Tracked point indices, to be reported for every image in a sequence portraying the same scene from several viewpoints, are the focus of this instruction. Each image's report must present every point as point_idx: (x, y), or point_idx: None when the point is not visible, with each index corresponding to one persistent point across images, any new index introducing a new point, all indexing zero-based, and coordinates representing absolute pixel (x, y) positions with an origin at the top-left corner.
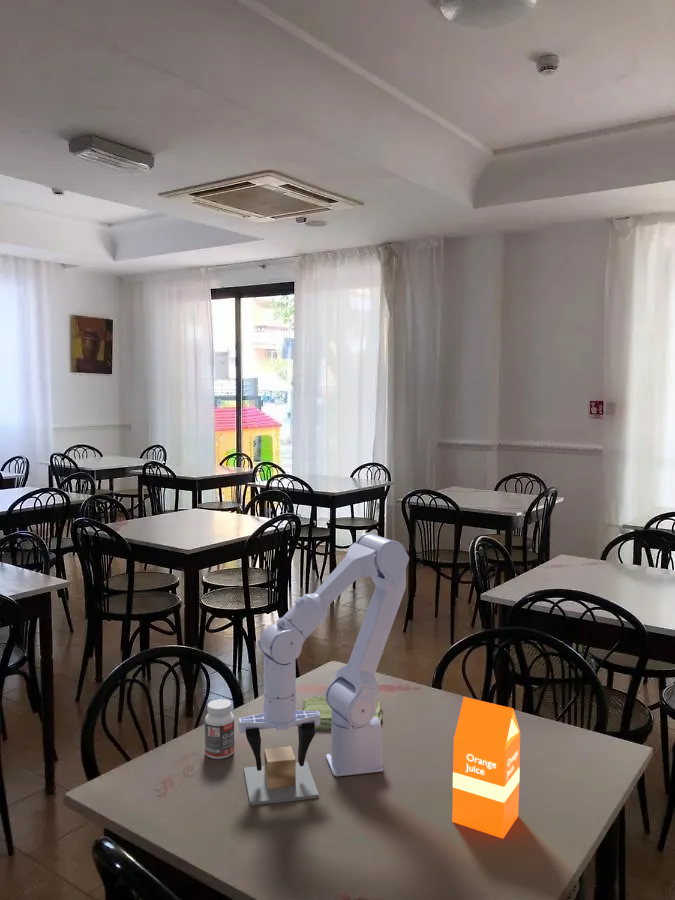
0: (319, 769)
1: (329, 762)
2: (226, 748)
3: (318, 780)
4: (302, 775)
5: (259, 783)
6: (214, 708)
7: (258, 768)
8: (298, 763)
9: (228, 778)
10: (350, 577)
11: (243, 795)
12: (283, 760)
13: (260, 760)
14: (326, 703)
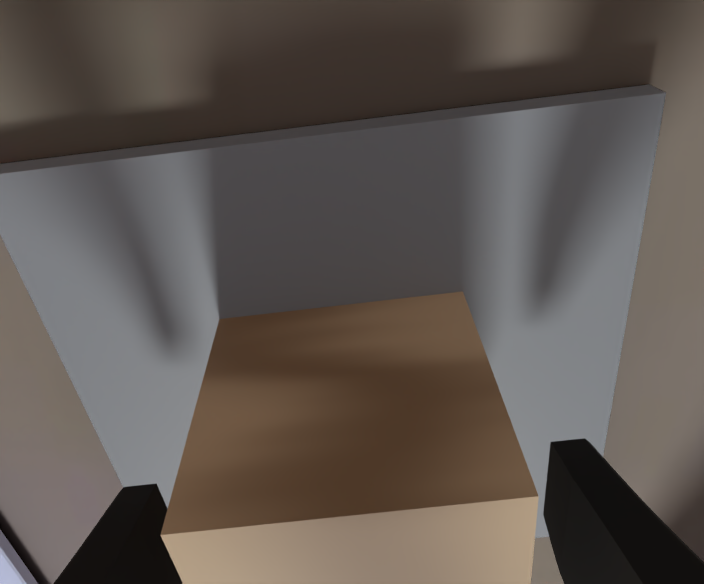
0: (76, 510)
1: (4, 560)
2: None
3: (55, 402)
4: (177, 444)
5: (518, 371)
6: None
7: (593, 454)
8: None
9: (701, 451)
10: None
11: (659, 254)
12: (323, 520)
13: (614, 530)
14: None
